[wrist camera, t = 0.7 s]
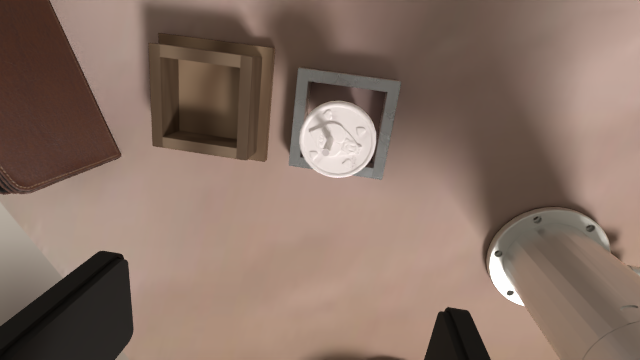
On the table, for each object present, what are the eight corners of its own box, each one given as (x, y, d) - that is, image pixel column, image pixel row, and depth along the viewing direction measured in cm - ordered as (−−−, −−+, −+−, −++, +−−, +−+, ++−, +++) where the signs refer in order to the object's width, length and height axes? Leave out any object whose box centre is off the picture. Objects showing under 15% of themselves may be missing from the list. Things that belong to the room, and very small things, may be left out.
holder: (398, 80, 35) (401, 81, 33) (380, 172, 39) (382, 179, 36) (302, 67, 36) (298, 67, 34) (292, 159, 39) (288, 165, 37)
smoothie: (325, 82, 36) (304, 95, 23) (382, 103, 36) (394, 128, 23) (305, 138, 38) (276, 179, 25) (359, 159, 39) (359, 210, 25)
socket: (275, 48, 36) (263, 46, 31) (266, 159, 40) (255, 171, 36) (163, 33, 36) (137, 30, 32) (166, 144, 40) (143, 153, 36)
